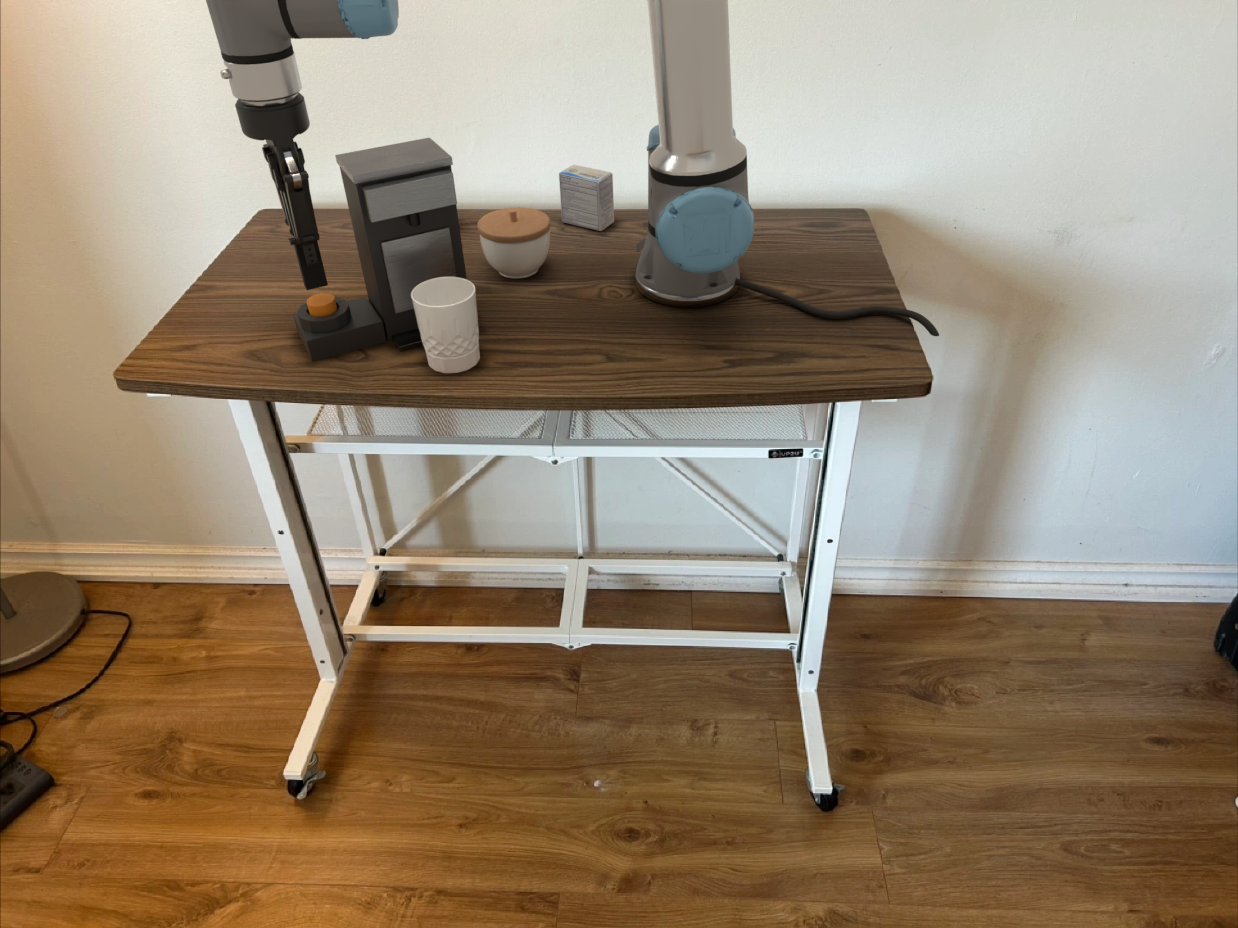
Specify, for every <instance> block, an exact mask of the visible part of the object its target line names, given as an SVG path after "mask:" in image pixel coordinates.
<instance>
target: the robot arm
mask: <svg viewBox="0 0 1238 928" xmlns="http://www.w3.org/2000/svg"><path fill="white" fill-rule="evenodd" d="M646 2H647V13H648V22H649V32H650V33H649V34H650V45H651V55H652V56H651V57H652V65H653V77H654V89H655V100H656V112H657V121H658V122H657V123H658V124H656V125H654V126H653V127H652V128H651V129H650V130H649V132H648V139H647V140H648V142H647V146H646V151H647V174H648V175H647V180H648V181H647V192H648V193H647V221H648V222H647V234H646V235H647V236H646V237H645V238H643V239H642V240H640V241H639V242H638V243H637V244H636V253H638V252H640V251H641V253H640V256H639V259H638V261H637V264H636V268H635V286H636V288H637V291H639V293H640V294H641V295H642V296H644V297H645V298H647V299H649V300H651V301H653V302H656V303H659V304H661V305H665V306H672V307H680V308H697V307H699V308H700V307H706V306H711V305H716V304H718V303H721V302H723V301H725V300H728V299H729V298H731V297H733V295H735V294H736V293H737V291H738V290H739V288H740V287H741V288H743V289H747V290H750V291H752V292H755V293H758V294H761V295H764V296H766V297H769V298H772V299H775V300H777V301H780V302H783V303H785V304H789V305H790V306H793V307H795V308H797V309H799V310H801V311H804V312H806V313H808V314H810V315H813V316H817V317H821V318H827V319H847V318H854V317H859V316H863V315H869V314H884V315H892V316H899V317H900V316H901V317H904V318H905V317H906V318H909V319H912V320H913V321H916V322H918V323H919V324H920V325H921V326H923V327H924V328H925V330H926V331H927V332H928V333H929V335H931V336H932V337H940V333H939V331H938V330H937V328H936V326H935V325H934V324H933V323H932V322H931V321H930V320H929V319H928V318H927V317H925V316H924V315H922V314H921V313H919V312H917V311H914V310H910V309H905V308H899V307H892V306H883V305H871V306H864V307H863V306H862V307H859V308H853V309H850V310H849V309H848V310H842V311H840V310H839V311H834V310H827V309H826V310H825V309H822V308H817V307H815V306H812V305H810V304H808V303H805V302H803V301H801V300H800V299H797V298H794V297H792V296H789V295H787V294H784V293H781V292H778V291H776V290H774V289H771V288H767V287H765V286H762V285H759V284H756V283H753V282H750V281H748V280H744V279H741V270H740V267H739V262H738V260H739V259H740V258H742V256H743V255H745V253H746V252H747V250H748V249H749V247H750V245H751V243H752V241H753V237H754V233H755V213H754V212H753V207H752V205H751V204H750V201H749V181H748V179H749V178H748V150H747V147H746V145H745V144H744V143H742V141H740V140H739V139H738V138H737V137H736V136H737V135H736V130H735V128H734V124H733V123H734V122H733V121H734V119H733V97H732V96H733V94H732V72H731V71H732V70H731V69H732V68H731V43H730V20H729V19H730V18H729V17H730V16H729V0H646ZM205 3H206V6H207V9H208V12H209V16H210V20H211V23H212V27H213V29H214V33H215V37H216V39H217V44H218V46H219V50H220V55H221V59H222V60H223V64H224V66H225V67H226V68H225V69H222V70H220V72H219V73H220V77H221V78H222V79H223V80H228V83H229V87H230V91H231V93H232V96H233V97H234V98H236V99H237V100H236V102H235V104H234V106H235V110H236V114H237V118H238V121H239V124H240V128H241V131H242V134H243V135H244V136H246V137H247V138H249V139H251V140H254V141H255V140H256V141H265V144H262V147H261V150H262V154H263V157H264V160H265V161H266V162H267V164H268V168H269V172H270V175H271V179H272V181H273V183H274V186H275V189H276V192H277V196H278V200H279V202H280V203H279V204H280V206H281V210H282V213H283V217H284V223H285V224H286V226H287V227H288V228H289V229H288V231H289V234H290V235H291V236H292V237H289V238H288V242H289V244H290V246H293V247H294V251H295V255H296V259H297V262H298V267H299V270H300V275H301V278H302V282H303V287H304V288H305V289H306V291H310V290H314V289H319V288H323V287H327V286H329V283H328V279H327V274H326V270H325V267H324V263H323V259H322V258H323V257H322V254H321V251H320V245H319V243H318V241H320V238H321V237H320V233H319V228H318V225H317V221H316V216H315V211H314V210H315V209H314V204H313V199H312V195H311V194H312V193H311V190H310V181H309V178H310V175H309V172H308V171H307V170H306V169H305V163H306V161H305V160H306V159H305V156H304V152H303V149H302V148H301V147H299V146H298V142H297V141H294V138H296V137H297V136H299V135H302V134H304V133H306V132H307V130H309V128H310V126H311V122H310V118H309V113H308V108H307V104H306V100H305V96H304V95H303V94H301V93H300V92H301V90H302V89H303V86H302V85H303V84H302V81H301V77H300V71H299V67H298V63H297V58H296V54H295V50H294V47H293V43H292V40H293V39H294V40H302V39H361V40H369V39H370V38H377V37H388V36H391V35H393V34H395V32H396V30H397V29H398V25H399V17H400V16H399V15H400V14H399V13H400V10H399V8H400V7H399V0H205Z"/></svg>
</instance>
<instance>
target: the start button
mask: <svg viewBox="0 0 1238 928" xmlns="http://www.w3.org/2000/svg"><path fill="white" fill-rule="evenodd" d="M335 297H336V296H335V295H334V294H332V293H328V292H320V293H316V294H313V295H311V296H309V297H308V298H307V300H306V302H307V306H308V310H309V313H310V315H312V316H327V315H331V314H332V313H334V312H336V311H337V305H336V300H335Z"/></svg>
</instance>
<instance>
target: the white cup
mask: <svg viewBox="0 0 1238 928" xmlns="http://www.w3.org/2000/svg"><path fill="white" fill-rule="evenodd" d="M411 298H412V302H413V307H414V311H415V315H416V319H417V324H418V328H419V331H420V336H421V339H422V342H423V346H422V347H423V348H424V351H425V355H426V359H427V360H426V361H427V363H428V366H429V368H431V369H432V370H433V371H435V372H439V373H442V374H458V373H462V372H466V371H469V370H471V369H472V368H473V367H475V366H477V364H478V363H479V361H480V359H481V353H480V341H479V339H480V330H479V329H480V328H479V315H478V314H479V313H478V305H477V303H478V302H477V291H476V286H475V284H474V283H473V282H472V281H470V280H469V279H467V280H466V279H463V278H459V277H438V278H433V279H430V280H427V281H424V282H422V283H420V284H418V285H417V286H416V287H415V288H414V289H413V290H412V292H411Z"/></svg>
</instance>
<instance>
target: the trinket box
mask: <svg viewBox="0 0 1238 928" xmlns="http://www.w3.org/2000/svg"><path fill="white" fill-rule="evenodd" d="M477 232H478V234H479V241H480V246H481V250H482V252H483V256H484V258H485V259H486V261H487V263H488V264H489V265H490V266H491V268H493V269H494V270H495V271H497V272H498V274H500V275H501V276H502V277H504V278H508V279H524V278H528V277H531V276H533V275H535V274H536V273H537V272H538V271H539V269H540V268H541V267H542V265H543V264H544V263H545V261H546V260H547V258H548V255H549V253H550V247H551V219H550V217H549V216H548V214H547V213H545V212H543V211H541V210H539V209H535V208H531V207H521V206H519V207H518V206H517V207H506V208H500V209H497V210H493V211H491V212H488V213H486V214H484V215H483V216H482V217H480V218H479V220H478V221H477Z"/></svg>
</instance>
